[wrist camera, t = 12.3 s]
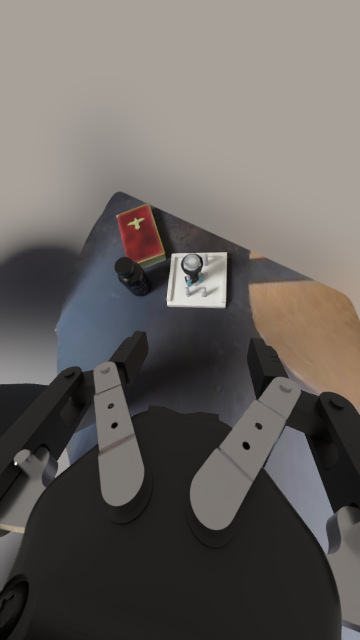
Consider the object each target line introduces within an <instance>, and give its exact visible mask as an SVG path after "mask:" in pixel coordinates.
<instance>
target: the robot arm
mask: <svg viewBox="0 0 360 640" xmlns="http://www.w3.org/2000/svg"><path fill="white" fill-rule="evenodd" d="M147 354H148V342H147V336H146V332H141V331H135V332H134V334H133V335H132V337H128V338H127V339H125V340H124V341H123V342H122V344H121V345H120V346H119V348H118V349H117V350H116V352H115V353H114V354H113V356H112V357H111V358H110V360H109V361H108V362H104V363H101V364H100V365H98V366H97V367H96V368H95V369H94V370H91V371H85V372H82V370H81V368H80V367H76V366H74V367H70V368H67V369H65V370H63V371H62V372H61V373H60V374H59V375H58V376H57V377H56V378H55V379H54V380H53V381H52V383H50V385H39V384H0V537H2V536H4V535H6V534H8V533H9V532H11V531H14V532H20V533H24V534H23V538H22V541H21V545H20V548H19V551H18V554H17V557H16V559H15V561H14V564H13V566H12V569H11V571H10V573H9V576H8V578H7V580H6V582H5V584H4V586H3V588H2V590H1V591H0V640H341V629H342V626H344V627H347V628H349V629H352V630H355V631H357V632H360V415H359V413H358V412H357V410H356V409H355V407H354V406H353V405H352V404H351V402H349V401H348V400H347V399H346V398H344V397H342V396H341V395H339V394H336V393H333V392H323V393H321V394H320V396H317V395H314V394H310V393H307V392H305V391H302V390H300V387H299V386H298V385H297V384H296V383H295V382H294V381H292V380H290V379H289V378H288V375H287V373H286V371H285V369H284V367H283V365H282V363H281V361H280V359H279V358H278V355H277V352H276V351H275V350H274V349H273V348H272V347H271V346H266V345H265V343H264V341H263V339H260V338H251V340H250V344H249V350H248V355H247V361H248V366H249V370H250V375H251V379H252V383H253V387H254V391H255V395H256V399H255V400H254V401H253V403H252V404H251V405H250V407H249V408H248V409H247V411H246V412H245V413H244V415H243V416H242V417H241V419H240V420H239V421H238V423H237V424H236V425H235V427H234V428H233V429H232V428H231V427H230V426H228V425H227V424H225V423H224V422H222V421H219V414H212V413H204V412H197V413H189V414H180V413H178V412H175V411H173V410H170V409H168V408H166V407H158V406H150V405H149V408H148V411H145V412H141V413H138V414H136V415H134V416H132V417H131V415H130V411H129V408H128V404H127V401H126V397H125V394H124V389H125V387H132V385H133V383H134V381H135V379H136V377H137V375H138V373H139V371H140V369H141V367H142V365H143V362H144V360H145V358H146V356H147ZM94 423H97V433H98V444H97V445H96V446H94V447H93V448H92V449H91V450H89V451H88V452H87V453H86V454H85V455H83V456H82V457H81V458H80V459H78V460H77V461H76V462H75V463H73V464H72V465H71V466H70V467H68V468H67V469H66V470H65V471H63V472H62V473H61V474H60V475H59V476H57V477H56V478H55V475H56V473H57V469H58V462H57V460H58V459H59V457H60V456H61V454H62V452H63V451H64V449H65V447H66V446H67V444H68V442H69V441H70V439H71V437H72V436H73V434H74V433H76V432H78V431H80V430H82V429H84V428H86V427H88V426H90V425H92V424H94ZM286 425H287V426H289V427H291V428H294V429H296V430H299V431H301V432H303V433H305V436H306V439H307V441H308V444H309V447H310V450H311V452H312V455H313V458H314V461H315V463H316V466H317V469H318V471H319V474H320V477H321V480H322V482H323V485H324V488H325V491H326V493H327V496H328V499H329V501H330V504H331V507H332V510H333V512H334V515H332V516H331V517H330V518H329V519H328V520H327V523H326V531H327V536H328V541H329V550H328V554H325V553H324V551H323V549H322V547H321V546H320V544H319V542H318V541H317V539H316V537H315V536H314V534H313V533H312V532H311V530H310V529H309V528H308V526H307V525H306V524H305V522H304V521H303V520H302V518H301V517H300V516H299V514H298V513H297V512H296V510H295V509H294V508H293V506H292V505H291V504H290V502H289V501H288V500H287V498H286V497H285V496H284V494H283V493H282V492H281V490H280V489H279V488H278V486H277V485H276V484H275V482H274V481H273V480H272V478H271V477H270V476H269V474H268V473H267V472H266V470H265V469H264V468H265V466H266V465H267V463H268V461H269V459H270V456H271V454H272V452H273V450H274V448H275V446H276V444H277V442H278V440H279V439H280V437H281V435H282V433H283V431H284V429H285V427H286Z"/></svg>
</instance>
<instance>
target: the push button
mask: <svg viewBox="0 0 360 640" xmlns="http://www.w3.org/2000/svg"><path fill="white" fill-rule="evenodd" d="M200 264H201V265H200ZM184 267H185V268H184ZM181 268H182V270H183V271H184V273H185V274H187V276H186V277H185V281H186V283H187V285H188V287H190V286H193V285H195V286H197V285H199V284H198V283H199V282H202V281H203V278H205V277H206V276H208V275H207V274H208V273H207V272H205V273H206V274H205V273H201V270H202V268H203V259H202V258H201V256H199V255H197V254H189V255H186V256H185V257H184V258H183V259H182V261H181ZM205 275H206V276H205ZM196 284H197V285H196Z"/></svg>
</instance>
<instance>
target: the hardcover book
mask: <svg viewBox="0 0 360 640" xmlns="http://www.w3.org/2000/svg"><path fill="white" fill-rule="evenodd" d="M117 221H118V225H119V229H120V233H121V238H122V242H123V246H124V250H125V255H126V257H129V258H130V259H131V260H132V261H134V262H137V263H138V264H140V266H141V267H142V268H145V267H148V266H151V265H154V264H156V263H159V262H162V261H165V260H166V257H165V251H164V248H163V245H162V242H161V239H160V236H159V232H158V229H157V226H156V223H155V220H154V217H153V214H152V211H151V208H150V205H149V203H147V204H145V205H142V206H139V207H137V208H134V209H132V210H129V211H126V212H124V213H121V214H119V215H117Z"/></svg>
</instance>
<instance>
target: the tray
mask: <svg viewBox="0 0 360 640" xmlns="http://www.w3.org/2000/svg"><path fill="white" fill-rule="evenodd" d="M189 254H197V255H199V256H201V258H202V259H203V268H202V270H201V273H205V272H207V273H208V274H207V275H208V276H206V275H205V276H206V277H205V278H203V281H202V282H199V283H198V284H199V285H197V284H196V285H197V286H195V285H193V286H190V287H188V285H187V283H186V281H185V277H186V276H187V274H185V273H184V271H183V270H182V268H181V261H182V259H183V258H184V257H185V256H186V255H189ZM200 265H201V264H200ZM184 268H185V267H184ZM226 272H227V253H180V254H172V258H171V267H170V275H169V284H168V293H167V306H171V307H202V308H225V303H226ZM205 274H206V273H205Z"/></svg>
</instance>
